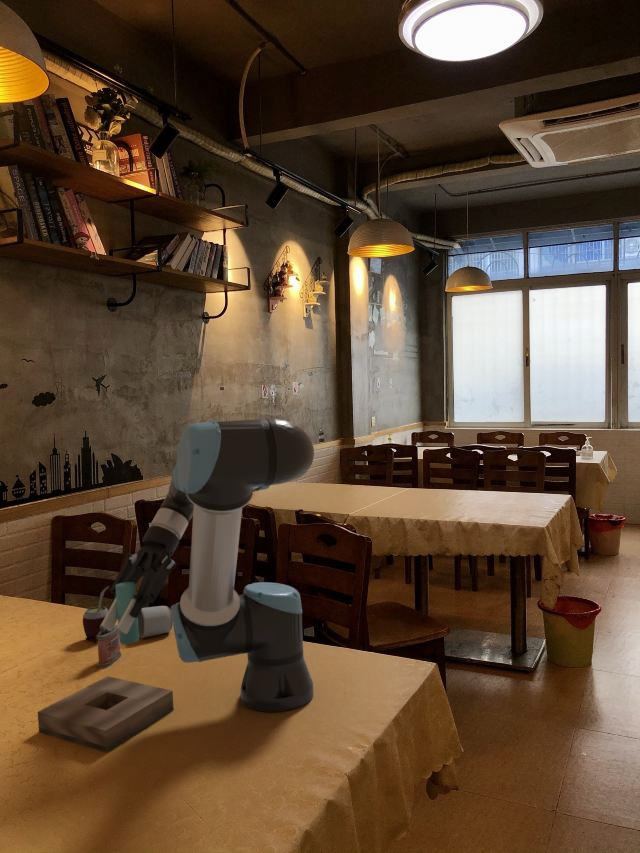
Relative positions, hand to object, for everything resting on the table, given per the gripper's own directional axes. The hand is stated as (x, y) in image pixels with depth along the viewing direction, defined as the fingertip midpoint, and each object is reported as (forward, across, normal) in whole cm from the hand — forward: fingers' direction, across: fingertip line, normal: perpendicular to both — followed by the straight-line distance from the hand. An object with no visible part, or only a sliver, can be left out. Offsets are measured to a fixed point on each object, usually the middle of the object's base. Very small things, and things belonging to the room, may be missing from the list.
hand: (114, 629), depth 144 cm
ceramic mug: (-13, +25, -36) cm, 46 cm away
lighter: (0, +20, -22) cm, 30 cm away
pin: (0, 0, -5) cm, 5 cm away
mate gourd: (-6, +35, -29) cm, 46 cm away
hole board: (+16, -4, -7) cm, 17 cm away
